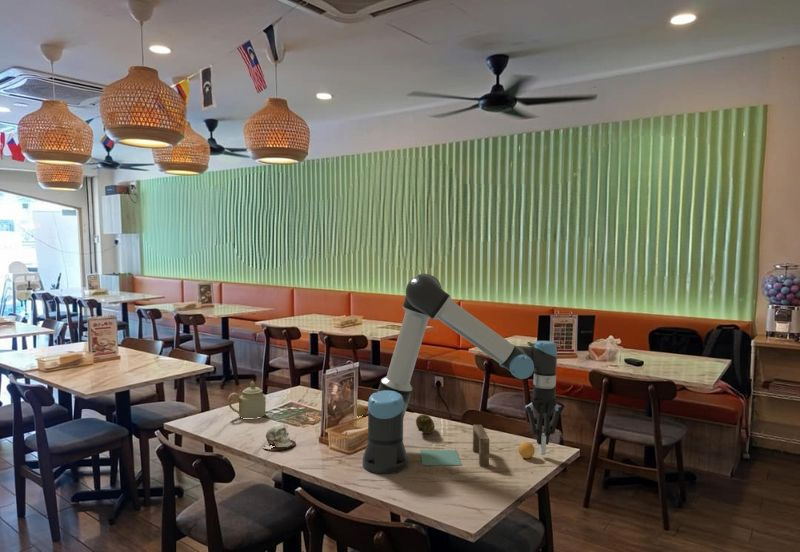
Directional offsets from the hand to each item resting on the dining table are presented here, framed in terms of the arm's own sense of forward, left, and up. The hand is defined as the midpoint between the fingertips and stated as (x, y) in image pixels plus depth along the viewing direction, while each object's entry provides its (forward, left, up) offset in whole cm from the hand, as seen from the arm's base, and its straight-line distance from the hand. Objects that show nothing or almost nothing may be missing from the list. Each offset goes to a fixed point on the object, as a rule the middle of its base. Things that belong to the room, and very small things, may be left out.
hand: (542, 453), depth 182 cm
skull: (-93, +11, -2) cm, 94 cm away
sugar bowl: (-113, +45, -2) cm, 121 cm away
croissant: (-69, +43, -2) cm, 82 cm away
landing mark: (-36, 0, -2) cm, 36 cm away
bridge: (-22, 0, -2) cm, 22 cm away
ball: (-6, 0, +1) cm, 6 cm away
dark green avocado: (-39, +25, -2) cm, 46 cm away
